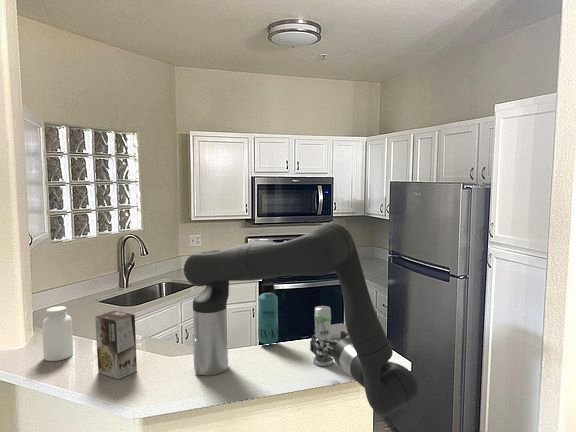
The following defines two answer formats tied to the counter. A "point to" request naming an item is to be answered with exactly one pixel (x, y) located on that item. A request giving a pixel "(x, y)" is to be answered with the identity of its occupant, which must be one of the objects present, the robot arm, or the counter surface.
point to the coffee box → (116, 344)
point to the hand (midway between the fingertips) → (327, 336)
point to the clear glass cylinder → (323, 333)
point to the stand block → (337, 331)
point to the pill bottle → (57, 334)
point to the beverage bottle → (268, 315)
